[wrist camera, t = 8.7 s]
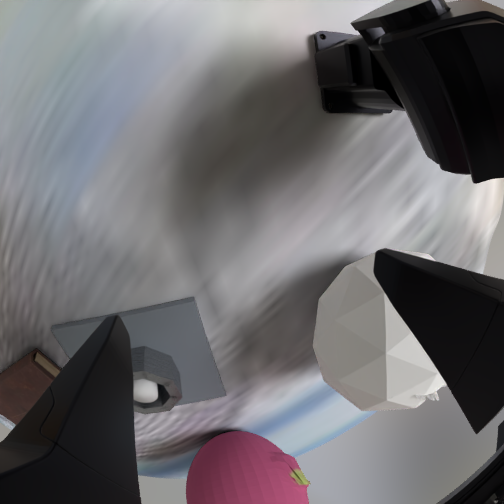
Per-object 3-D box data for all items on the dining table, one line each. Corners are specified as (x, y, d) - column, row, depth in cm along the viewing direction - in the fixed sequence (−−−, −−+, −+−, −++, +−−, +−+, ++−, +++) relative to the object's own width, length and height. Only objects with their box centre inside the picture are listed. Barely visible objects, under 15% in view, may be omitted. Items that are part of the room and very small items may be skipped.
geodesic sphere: (478, 233, 21) (533, 334, 9) (440, 342, 27) (443, 447, 16) (335, 212, 26) (296, 304, 15) (325, 325, 33) (288, 426, 21)
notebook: (133, 419, 28) (133, 432, 26) (54, 439, 29) (52, 449, 27) (34, 346, 20) (28, 360, 18) (-20, 386, 21) (-24, 396, 19)
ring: (164, 341, 23) (165, 367, 21) (185, 384, 26) (188, 407, 24) (100, 353, 22) (95, 377, 20) (128, 393, 25) (127, 416, 23)
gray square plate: (193, 296, 23) (198, 325, 20) (225, 391, 29) (231, 417, 26) (52, 325, 20) (41, 353, 17) (114, 409, 27) (113, 434, 24)
